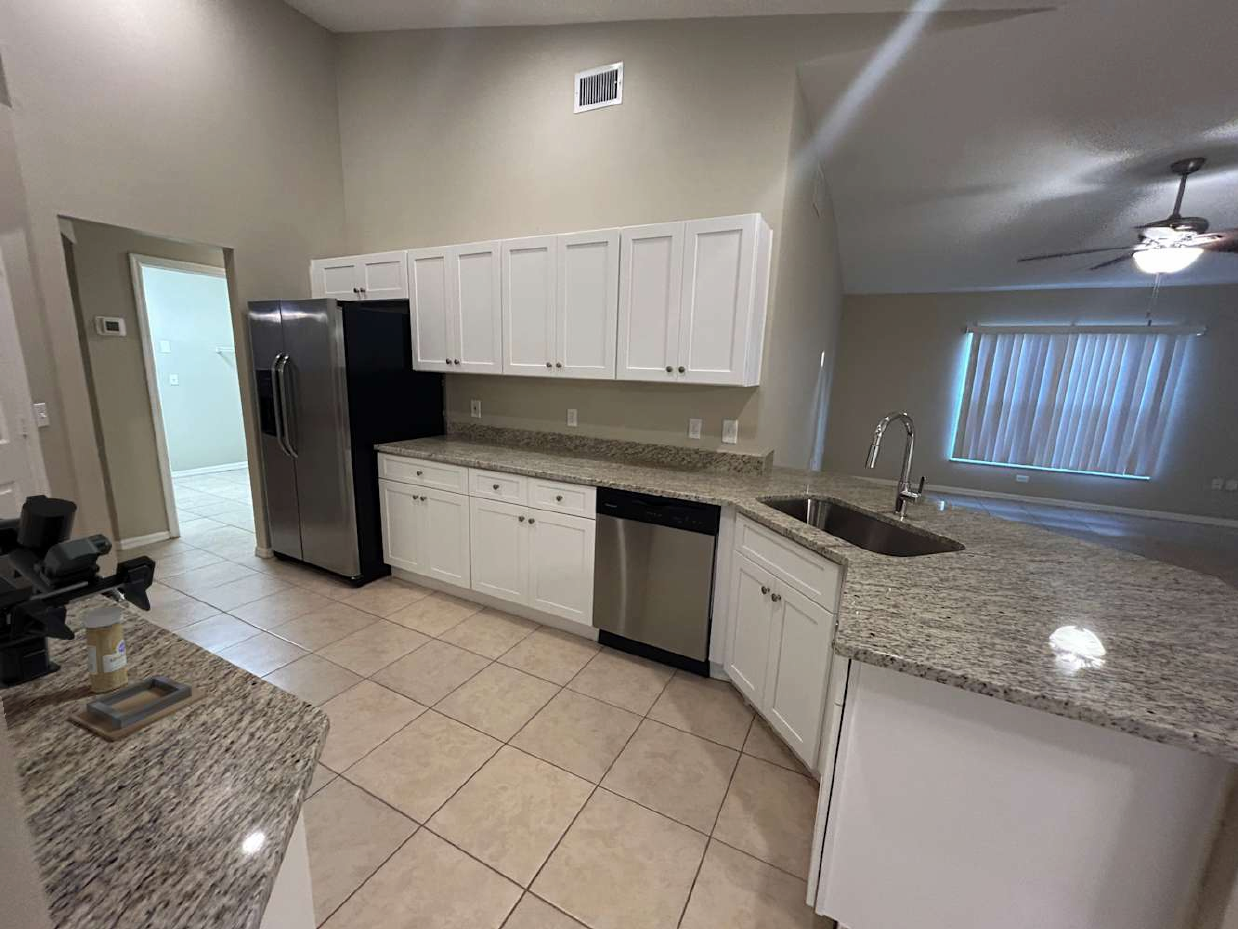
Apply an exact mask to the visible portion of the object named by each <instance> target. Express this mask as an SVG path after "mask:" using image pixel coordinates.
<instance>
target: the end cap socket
mask: <svg viewBox="0 0 1238 929" xmlns="http://www.w3.org/2000/svg"><path fill="white" fill-rule="evenodd" d="M208 697H209V694H208V692H206V691H203V690H201V689H198V688H195V687H193V686H191V685H188V684H185V683H183V682H181V681H179V680H176V679H173V678H171V677H169V676H166V675H161V674H158V673H157V674H154V675H152V676H149V677H147V678H145V679H142V680H140V681H137V682H136V683H133V684H131V685H128V686H126V687H122V688H121V689H118V690H116V691H114V692H111V693H108V694H107V695H104V696H101V697H99V698H96V699H94V700H92V701H89V702H87V703H86V707H85V708H84V709H81V710H78V711H76V712H73V713H71V714H69V715H68V719H69V720H71V721H73V722H75V723H77V724H79V725H81V726H82V727H85V728H87V729H89V730H90V731H92V730H93V731H92V732H94V731H95V733H96V732H97V733H96V734H99V735H101V736H102V737H104V738H106V739H109V740H111V742H114V743H115V742H117V741H119V740H121V739H123V738H126V737H127V736H129V735H131V734H133V733H135V732H137V731H139V730H141V729H144V728H145V727H148V726H150V725H152V724H154V723H156V722H158V721H160V720H162V719H164V718H166V717H168V716H171V715H173V714H174V713H177V712H179V711H180V710H183V709H185V708H186V707H189V706H191V705H193V704H195V703H197V702H199V701H201V700H204V699H206V698H208Z"/></svg>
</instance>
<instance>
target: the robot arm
mask: <svg viewBox="0 0 1238 929" xmlns="http://www.w3.org/2000/svg"><path fill="white" fill-rule="evenodd" d="M77 509H78V505H77V503H76V502H74V501H72V500H71V501H70V500H68V499H63V498H58V497H48V496H46V495H45V494H39V495H37V494H36V495H30V496H26V499H25V502H24V503H23V504H22V506H21V510H20V516H19V517H13V518H2V517H0V558H4V557H7V556H8V557H7V563H8V565H10V567H11V569H10V574H11V578H13V579H17V578H21V577H23V578H24V579H26V581H28V582H29V584H31V585H28V586H24V587H17V586H16V585H15V584H13V582H11V581H9V580H8V579H7V578H5V577H4V576H3V575H1V574H0V686H3V687H4V688H12V687H13V686H17V685H19V684H22V683H25V682H27V681H30V680H34V679H36V678H39V677H42V676H45V675H48V674H51V673H53V672H57V671H59V670H62V665H61V664H58V663H56V662H54V661H52V660H51V654H50V647H49V638H52V639H57V640H58V639H59V640H66V641H73V640H75V635H76V634H75V632H73V630H72V629H71V628H70V627H69V626H68V625H67V624H66V618H67V612H68V609H67V605H70V604H73V603H76V602H79V601H82V600H84V599H88V598H90V597H93V596H96V595H99V594H103V593H106V592H109V591H111V590H112V591H113V590H114V589H116V591H117V592H118V593H120V594H121V595H123V599H125V600H126V601H128V602H129V603H130V604H132V605H134V606H135V607H136V608H138V609H140V610H142V611H145V612H149V611H151V603H150V601H149V598H148V595H147V589H149V588H150V587H151V586H152V585H153V581H154V576H155V570H156V563H157V562H156V561H155V560H154V559H153V558H151V557H149V556H148V555H146V554H145V555H142V556H139V557H135V558H132V559H127V560H125V561H121V562H118V563H117V565H116V571H115V574H112V575H111V574H110V575H108V576H105V577H102V578H99V577H98V576H97V575H96V574H99V573H100V570H101V566H100V565H99V564H98V563H97V561H98V559H99V557H102V556H106V555H109V553H110V552H111V550H112V548H113V544H112V542H111V541H110V540H109V538H108V537H106V536H105V535H103V534H102V533H99V534H94V535H91V536H87V537H82V538H81V537H80V538H79V539H74V540H71V538H72V532H73V530H74V529H73V528H74V524H75V519H76V516H77Z"/></svg>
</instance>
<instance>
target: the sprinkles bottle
mask: <svg viewBox="0 0 1238 929" xmlns="http://www.w3.org/2000/svg"><path fill="white" fill-rule="evenodd" d="M123 611H124V610H123V608H122V607H120V606H116V605H115V606H114V605H113V606H105V607H99V608H96V609H95V608H94V609H92V610H90V611H86V613H85V614H83V616H82V622H83V627H84V629H85V635H86V652H87V663H88V672H89V675H90V683H91V684H90V685H91V686H90V691H91V692H92V693H97V694H99V693H108V692H111V691H113V690H116V689H119V688H121V687H123V686H124V685H126V684H127V683H128V682H129V677H128V670H127V652H126V643H125V637H124V628H123V619H124V612H123Z"/></svg>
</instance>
